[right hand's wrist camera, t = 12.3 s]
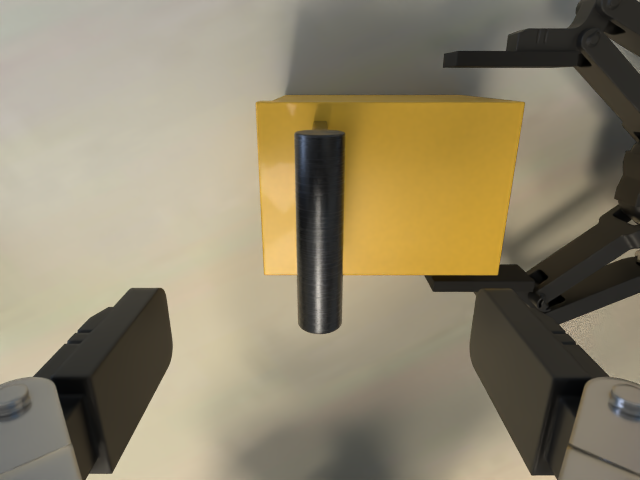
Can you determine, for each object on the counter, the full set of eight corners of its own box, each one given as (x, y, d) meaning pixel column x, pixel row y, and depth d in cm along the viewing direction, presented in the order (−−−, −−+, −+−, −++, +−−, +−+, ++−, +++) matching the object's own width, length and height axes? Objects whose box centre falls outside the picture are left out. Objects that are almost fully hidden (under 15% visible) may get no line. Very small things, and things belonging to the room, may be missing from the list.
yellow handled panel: (266, 266, 26) (242, 350, 18) (258, 100, 23) (224, 112, 15) (490, 266, 26) (566, 350, 18) (514, 100, 23) (621, 112, 15)
